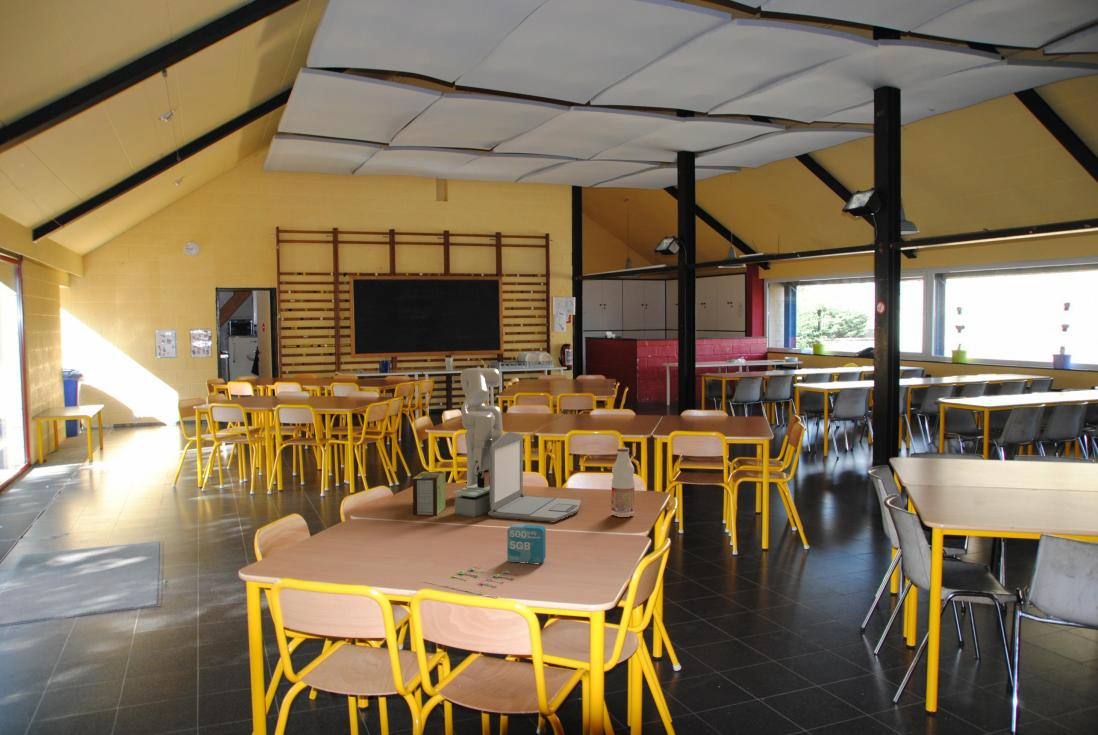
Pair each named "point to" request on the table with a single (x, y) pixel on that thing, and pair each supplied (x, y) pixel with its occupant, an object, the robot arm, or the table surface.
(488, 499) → the tub
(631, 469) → the fruit juice
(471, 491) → the lid
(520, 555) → the data package
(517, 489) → the laptop
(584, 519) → the table surface
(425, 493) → the protein box
